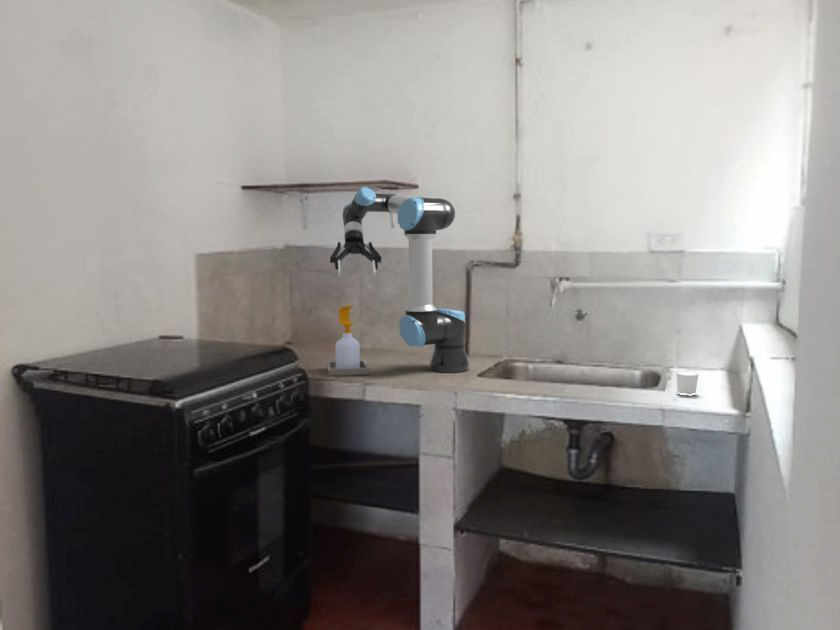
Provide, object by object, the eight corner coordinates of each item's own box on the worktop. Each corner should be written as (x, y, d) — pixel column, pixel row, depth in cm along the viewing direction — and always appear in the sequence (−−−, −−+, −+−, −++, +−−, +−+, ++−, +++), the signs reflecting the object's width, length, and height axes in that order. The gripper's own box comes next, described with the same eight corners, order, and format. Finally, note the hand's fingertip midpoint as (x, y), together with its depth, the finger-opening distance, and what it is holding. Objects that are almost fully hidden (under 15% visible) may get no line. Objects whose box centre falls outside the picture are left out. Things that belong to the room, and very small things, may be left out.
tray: (365, 367, 277) (365, 360, 277) (369, 375, 262) (369, 368, 261) (326, 368, 275) (326, 361, 274) (328, 376, 259) (328, 369, 259)
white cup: (699, 397, 230) (700, 375, 229) (677, 396, 231) (678, 374, 230) (694, 392, 237) (696, 371, 236) (673, 391, 238) (674, 370, 237)
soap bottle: (341, 373, 262) (341, 307, 259) (331, 369, 270) (331, 304, 267) (363, 371, 266) (363, 305, 263) (353, 366, 274) (353, 303, 271)
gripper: (383, 241, 295) (388, 280, 282) (322, 241, 291) (324, 281, 278) (384, 229, 289) (389, 268, 276) (323, 228, 285) (325, 268, 272)
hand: (357, 274), depth 277 cm, fingers open, 13 cm apart
